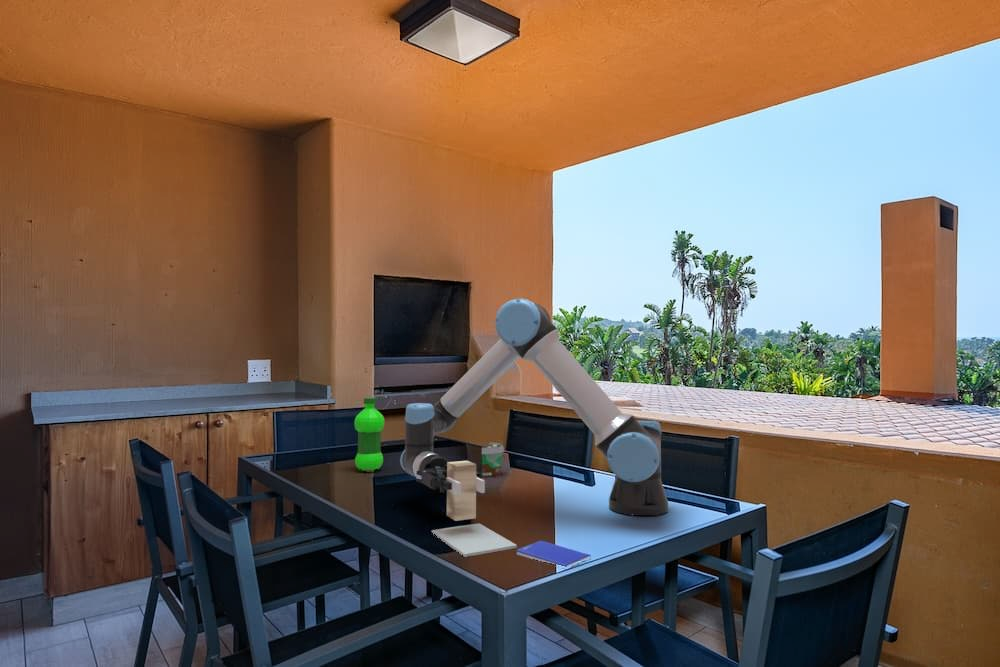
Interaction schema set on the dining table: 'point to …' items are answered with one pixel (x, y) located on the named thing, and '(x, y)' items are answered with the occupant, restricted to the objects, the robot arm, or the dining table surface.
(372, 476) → the dining table surface
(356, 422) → the plastic bottle
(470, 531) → the rubber mat
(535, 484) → the dining table surface
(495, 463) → the food container
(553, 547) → the hard drive
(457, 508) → the birch block
